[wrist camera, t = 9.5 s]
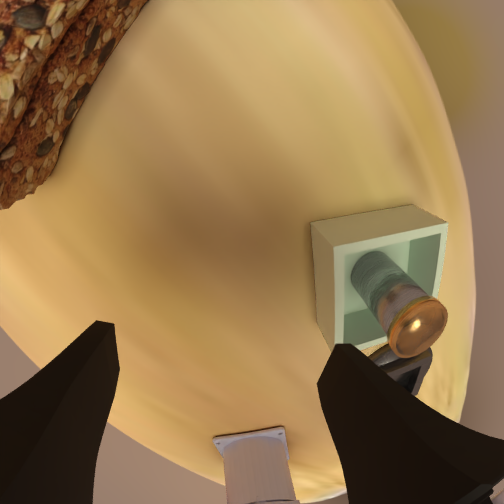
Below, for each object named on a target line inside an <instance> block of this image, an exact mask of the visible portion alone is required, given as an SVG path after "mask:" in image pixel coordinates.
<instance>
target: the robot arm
mask: <svg viewBox="0 0 504 504" xmlns="http://www.w3.org/2000/svg"><path fill="white" fill-rule="evenodd" d="M119 371H120V367H119V360H118V352H117V344H116V336H115V326H114V324H113V323H108V322H102V321H97V320H96V321H95V322H94V323H93V324H92V325H91V326H89V327H88V328H87V329H86V330H85V331H84V332H83V333H82V334H81V335H80V336H79V337H77V338H76V339H75V340H74V341H73V342H72V343H71V344H70V345H69V346H68V347H67V348H66V349H64V350H63V351H62V352H61V353H60V354H59V355H58V356H57V357H55V358H54V359H53V360H52V361H51V362H50V363H49V364H47V365H46V366H45V367H44V368H43V369H41V370H40V371H39V372H38V373H37V374H35V375H34V376H33V377H32V378H30V379H29V380H28V381H27V382H25V383H24V384H22V385H21V386H20V387H18V388H17V389H15V390H14V391H12V392H11V393H10V394H8V395H7V396H5V397H3V398H2V399H0V504H92V502H93V487H94V477H95V467H96V460H97V456H98V451H99V446H100V443H101V440H102V436H103V433H104V429H105V426H106V422H107V419H108V416H109V413H110V409H111V406H112V403H113V399H114V396H115V391H116V386H117V381H118V376H119ZM317 387H318V392H319V398H320V402H321V407H322V410H323V413H324V416H325V419H326V422H327V425H328V428H329V430H330V433H331V436H332V439H333V441H334V444H335V447H336V450H337V453H338V455H339V458H340V462H341V465H342V469H343V473H344V478H345V483H346V488H347V494H348V500H349V504H504V489H503V490H501V491H500V492H499V493H498V494H497V495H495V496H494V497H492V498H491V499H490V497H489V496H490V495H491V494H493V489H492V488H493V487H494V486H495V485H496V484H498V483H499V482H500V481H501V480H502V479H503V478H504V440H502V439H498V438H494V437H490V436H487V435H484V434H482V433H479V432H476V431H474V430H471V429H469V428H467V427H465V426H463V425H460V424H459V423H456V422H454V421H452V420H451V419H449V418H447V417H445V416H443V415H442V414H440V413H439V412H437V411H435V410H434V409H432V408H431V407H429V406H427V405H426V404H425V403H423V402H422V401H420V400H419V399H418V398H416V397H415V396H414V395H412V394H411V393H410V392H408V391H407V390H406V389H405V388H403V387H402V386H401V385H400V384H398V383H397V382H396V381H395V380H394V379H392V378H391V377H390V376H389V375H388V374H387V373H385V372H384V371H383V370H382V369H381V368H380V367H379V366H377V365H376V364H375V363H374V362H373V361H372V360H370V359H369V358H368V357H367V356H366V355H365V354H364V353H362V352H361V351H360V350H359V349H357V348H356V347H355V346H354V345H352V344H351V343H336V344H335V346H334V348H333V351H332V353H331V355H330V357H329V359H328V361H327V364H326V366H325V368H324V370H323V372H322V374H321V376H320V378H319V380H318V382H317ZM213 443H214V445H215V446H216V448H217V449H218V451H219V453H220V454H221V456H222V457H223V460H224V472H225V484H226V495H227V504H300V502H299V500H296V496H295V492H294V487H293V483H292V479H291V474H290V470H289V466H288V462H287V460H289V453H288V447H287V441H286V435H285V430H284V428H283V427H277V428H272V429H267V430H261V431H256V432H250V433H243V434H236V435H229V436H221V437H214V438H213Z"/></svg>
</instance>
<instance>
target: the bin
mask: <svg viewBox="0 0 504 504" xmlns="http://www.w3.org/2000/svg"><path fill="white" fill-rule="evenodd" d="M310 225H311V237H312V249H313V262H314V277H315V293H316V313H317V324H318V326H319V328H320V330H321V332H322V334H323V336H324V338H325V340H326V342H327V344H328V346H329V348H330V351H331V353H332V351H333V348H334V346H335V344H336V343H351V344H352V345H354V346H355V347H356V348H357V349H359V350H363V349H366V348H369V347H372V346H375V345H378V344H381V343H384V342H387V334H386V333H385V331H384V330H383V328H382V327H381V326H380V324H379V323H378V321H377V320H376V318H375V317H374V315H373V314H372V312H371V311H370V310H369V308H368V307H367V305H366V304H365V302H364V301H363V300H362V298H361V297H360V295H359V294H358V293H357V291H356V290H355V288H354V287H353V285H352V283H351V272H352V269H353V267H354V265H355V263H356V262H357V261H358V260H359V259H360V258H361V257H362V256H363V255H365V254H367V253H369V252H373V251H380V252H383V253H385V254H386V255H387V256H388V257H390V258H391V259H392V260H393V261H394V262H395V263H396V264H397V265H398V266H399V267H400V268H401V269H402V270H403V271H404V272H405V273H406V274H407V275H409V276H410V277H411V278H412V279H413V280H414V281H415V282H416V283H417V284H418V285H419V286H420V287H421V288H422V289H423V290H424V291H425V292H426V293H427V294H428V295H429V296H433V297H435V298H436V299H437V297H438V292H439V287H440V281H441V276H442V269H443V263H444V256H445V248H446V240H447V230H448V222H446V221H444V220H443V219H441V218H439V217H437V216H435V215H433V214H431V213H429V212H427V211H425V210H423V209H421V208H419V207H417V206H415V205H407V206H401V207H395V208H389V209H383V210H377V211H371V212H365V213H360V214H354V215H348V216H342V217H337V218H331V219H326V220H320V221H314V222H310Z"/></svg>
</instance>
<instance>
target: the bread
mask: <svg viewBox="0 0 504 504" xmlns="http://www.w3.org/2000/svg"><path fill="white" fill-rule="evenodd" d="M147 1H148V0H0V210H2V209H8V208H9V207H10V206H11V205H12V204H13V203H14V202H15V201H17V200H21V199H24V198H25V196H26V195H27V194H34V192H35V190H36V188H37V187H38V186H39V185H42V184H43V183H44V181H46V179H47V178H48V176H49V175H50V173H51V171H52V170H53V168H54V166H55V164H56V163H57V158H58V153H59V148H60V145H61V144H62V141H63V139H64V136H65V134H66V132H67V130H68V127H69V125H70V123H71V121H72V120H73V118H74V116H75V115H76V113H77V111H78V110H79V108H80V106H81V104H82V103H83V101H84V97H85V95H86V94H87V93H88V92H89V89H90V86H91V85H92V83H93V82H94V80H95V78H96V77H97V75H98V73H99V72H100V70H101V69H102V68H103V66H104V63H105V61H106V60H107V58H108V57H109V55H110V54H111V52H112V51H113V50H114V48H115V47H116V45H117V44H118V42H119V41H120V40H121V38H122V37H123V35H124V34H125V32H126V31H127V29H128V28H129V27H130V25H131V24H132V22H133V21H134V20H135V19H136V17H137V16H138V14H139V12H140V9H141V8H142V6H143V5H144V4H145V3H146V2H147Z"/></svg>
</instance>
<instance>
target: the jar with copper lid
mask: <svg viewBox="0 0 504 504" xmlns="http://www.w3.org/2000/svg"><path fill="white" fill-rule="evenodd" d="M351 283H352V285H353V287H354V288H355V290H356V291H357V293H358V294H359V295H360V297H361V298H362V300H363V301H364V302H365V304H366V305H367V307H368V308H369V310H370V311H371V312H372V314H373V315H374V317H375V318H376V320H377V321H378V323H379V324H380V326H381V327H382V328H383V330H384V331H385V333H386V334H387V341H388V344H389V345H390V347H391V348H392V350H393V351H394V353H395V354H396V355H397V356H398V357H401V358H409V357H413V356H416V355H418V354H420V353H422V352H424V351H425V350H426V349H428V348H429V347H430V346H431V345H432V344H433V343H434V342H435V341H436V340H437V339H438V338H439V336H440V335H441V334H442V332H443V330H444V328H445V326H446V323H447V318H448V313H447V310H446V308H445V307H444V306H443V305H442V304H441V303H440V302H439V301H438V300H437V299H436V298H435V297H433V296H429V295H428V294H427V293H426V292H425V291H424V290H423V289H422V288H421V287H420V286H419V285H418V284H417V283H416V282H415V281H414V280H413V279H412V278H411V277H410V276H409V275H407V274H406V273H405V272H404V271H403V270H402V269H401V268H400V267H399V266H398V265H397V264H396V263H395V262H394V261H393V260H392V259H391V258H390V257H388V256H387V255H386V254H385V253H383V252H380V251H373V252H369V253H367V254H365V255H363V256H362V257H361V258H360V259H359V260H358V261H357V262H356V263H355V265H354V267H353V269H352V272H351Z"/></svg>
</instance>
